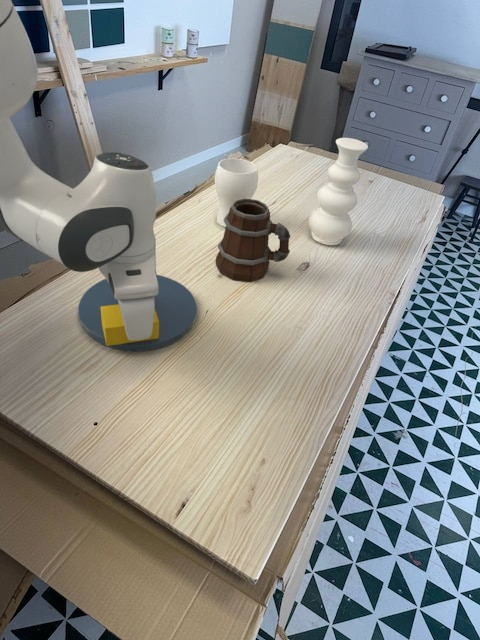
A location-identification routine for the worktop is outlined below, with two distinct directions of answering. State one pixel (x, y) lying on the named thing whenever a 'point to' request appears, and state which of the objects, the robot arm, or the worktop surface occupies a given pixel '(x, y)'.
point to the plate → (170, 307)
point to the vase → (337, 195)
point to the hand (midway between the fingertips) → (130, 324)
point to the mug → (249, 241)
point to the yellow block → (120, 326)
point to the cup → (234, 183)
